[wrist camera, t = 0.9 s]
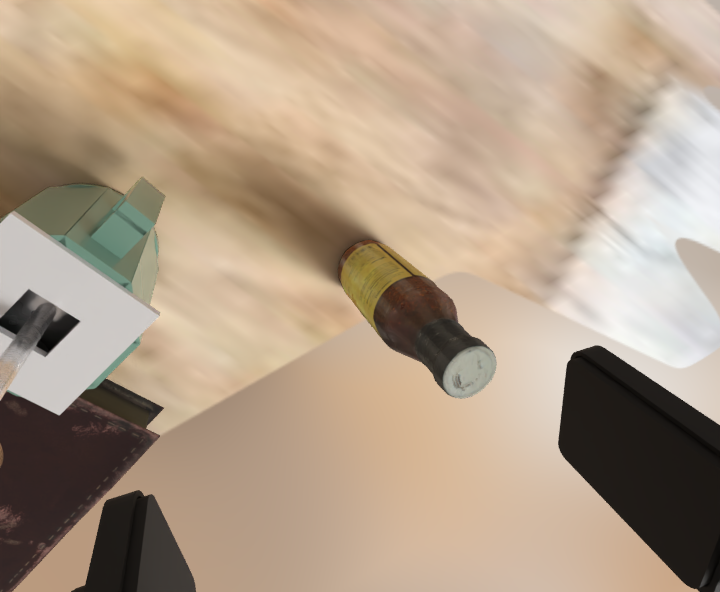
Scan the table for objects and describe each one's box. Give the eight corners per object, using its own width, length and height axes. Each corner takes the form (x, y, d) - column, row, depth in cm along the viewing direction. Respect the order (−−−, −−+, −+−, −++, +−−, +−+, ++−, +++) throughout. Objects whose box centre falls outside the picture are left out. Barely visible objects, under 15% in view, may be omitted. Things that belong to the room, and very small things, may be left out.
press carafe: (-10, 246, 36) (-126, 335, 23) (103, 128, 35) (46, 153, 22) (106, 320, 41) (62, 426, 28) (207, 218, 40) (208, 281, 27)
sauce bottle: (331, 294, 46) (407, 418, 29) (340, 234, 44) (428, 331, 27) (391, 296, 48) (494, 413, 31) (402, 239, 46) (520, 332, 29)
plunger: (-56, 312, 26) (-328, 552, 13) (30, 223, 25) (-161, 375, 12) (65, 378, 29) (-48, 619, 16) (143, 301, 29) (91, 485, 16)
